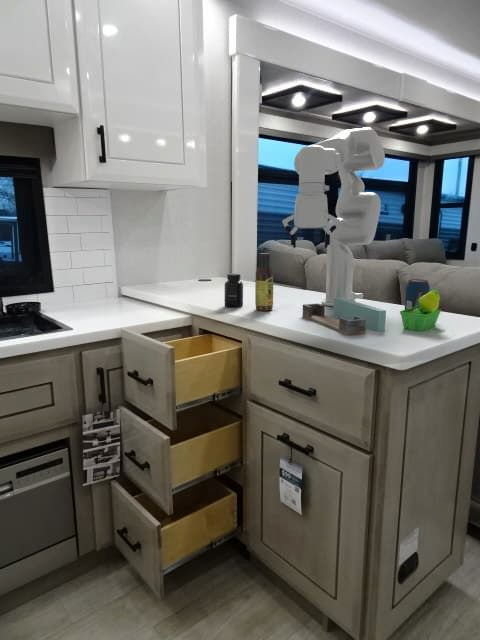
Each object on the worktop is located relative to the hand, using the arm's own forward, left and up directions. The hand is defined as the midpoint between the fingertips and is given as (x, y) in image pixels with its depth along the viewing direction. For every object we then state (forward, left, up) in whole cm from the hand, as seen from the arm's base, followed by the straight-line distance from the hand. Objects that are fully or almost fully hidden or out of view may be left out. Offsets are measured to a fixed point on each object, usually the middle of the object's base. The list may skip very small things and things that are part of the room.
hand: (310, 247), depth 138 cm
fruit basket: (-25, +23, -23) cm, 40 cm away
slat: (-12, +10, -23) cm, 27 cm away
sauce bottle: (+7, -19, -23) cm, 31 cm away
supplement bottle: (+15, -29, -23) cm, 40 cm away
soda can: (-33, +11, -23) cm, 41 cm away
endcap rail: (-3, +10, -22) cm, 25 cm away
